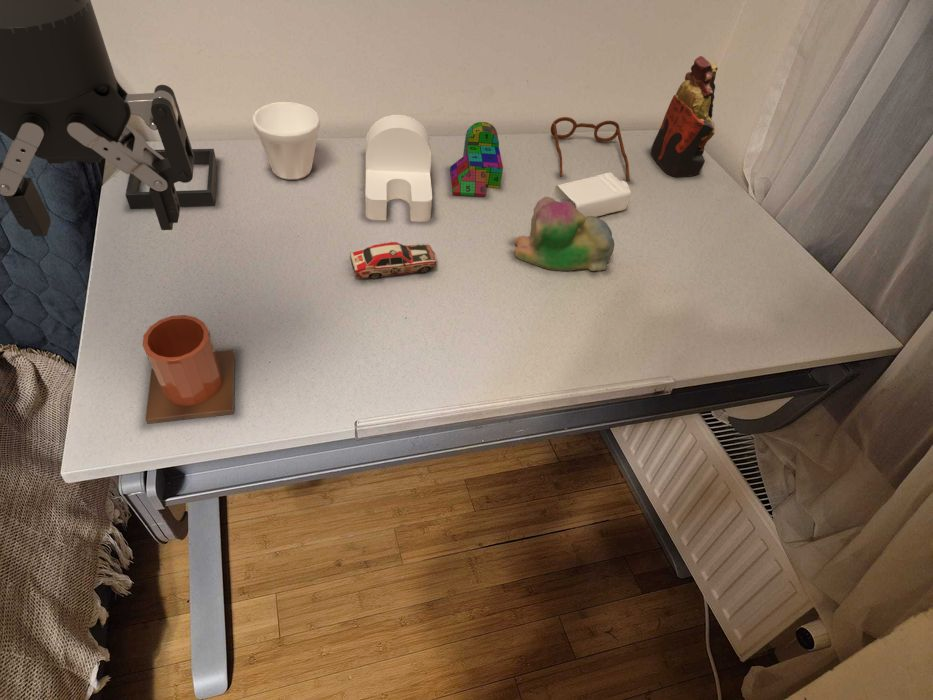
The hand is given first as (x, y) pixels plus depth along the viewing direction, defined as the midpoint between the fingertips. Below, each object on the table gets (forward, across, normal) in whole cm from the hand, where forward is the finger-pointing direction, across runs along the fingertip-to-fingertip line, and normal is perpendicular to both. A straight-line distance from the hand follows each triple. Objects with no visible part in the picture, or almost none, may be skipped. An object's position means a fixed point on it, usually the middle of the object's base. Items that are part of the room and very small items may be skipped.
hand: (106, 226), depth 46 cm
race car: (+28, -26, -24) cm, 45 cm away
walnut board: (+28, 0, -6) cm, 29 cm away
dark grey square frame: (+28, +4, -46) cm, 54 cm away
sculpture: (+28, -52, -24) cm, 64 cm away
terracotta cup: (+27, 0, -6) cm, 28 cm away
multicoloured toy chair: (+28, -43, -46) cm, 69 cm away
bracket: (+28, -30, -44) cm, 60 cm away
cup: (+28, -13, -49) cm, 58 cm away
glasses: (+28, -66, -50) cm, 88 cm away
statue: (+28, -83, -49) cm, 100 cm away
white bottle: (+28, -61, -36) cm, 76 cm away
